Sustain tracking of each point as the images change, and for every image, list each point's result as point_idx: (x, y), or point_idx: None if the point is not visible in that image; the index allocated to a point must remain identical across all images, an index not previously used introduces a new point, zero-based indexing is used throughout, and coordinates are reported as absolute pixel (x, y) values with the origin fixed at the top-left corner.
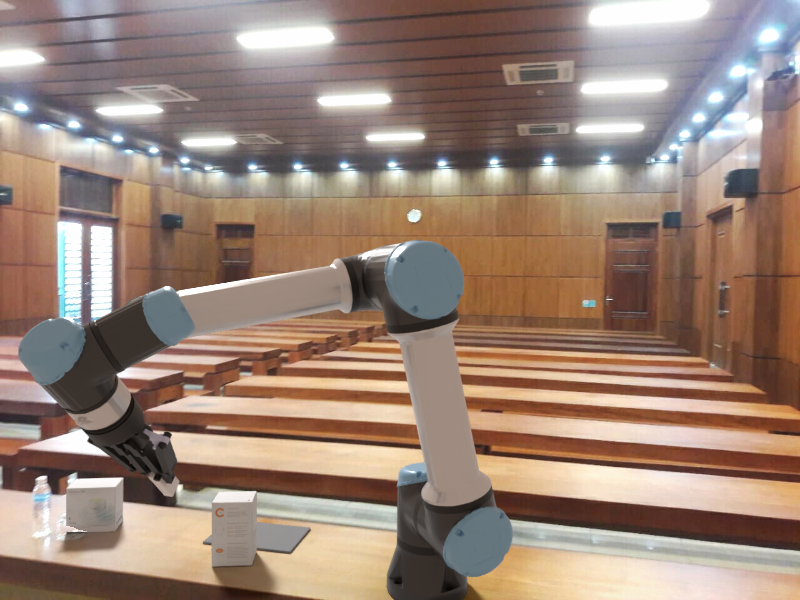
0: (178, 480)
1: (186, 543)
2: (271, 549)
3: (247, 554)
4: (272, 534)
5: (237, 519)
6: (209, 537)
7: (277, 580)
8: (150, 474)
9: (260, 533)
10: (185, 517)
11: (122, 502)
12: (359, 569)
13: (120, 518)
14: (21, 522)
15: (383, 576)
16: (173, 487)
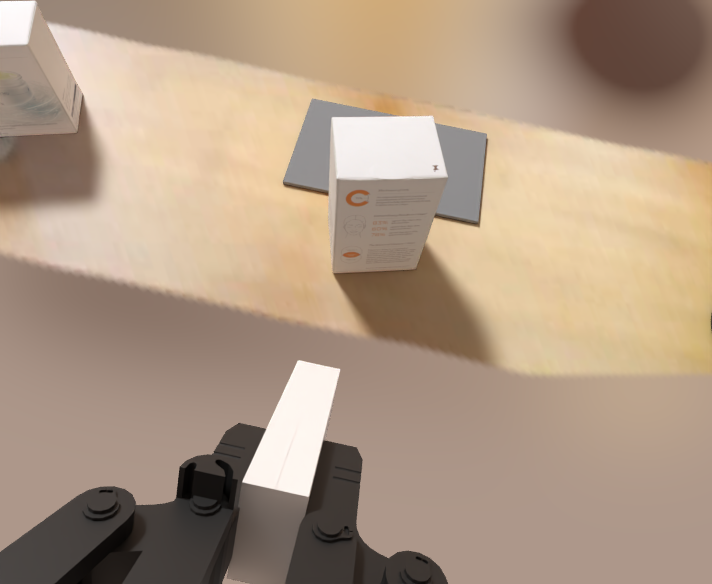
0: (338, 376)
1: (248, 182)
2: (437, 213)
3: (410, 257)
4: None
5: (401, 209)
6: (291, 165)
7: (487, 325)
8: (236, 562)
9: None
10: (213, 85)
11: (63, 60)
12: (636, 284)
13: (75, 96)
14: None
15: (693, 310)
16: (328, 423)
